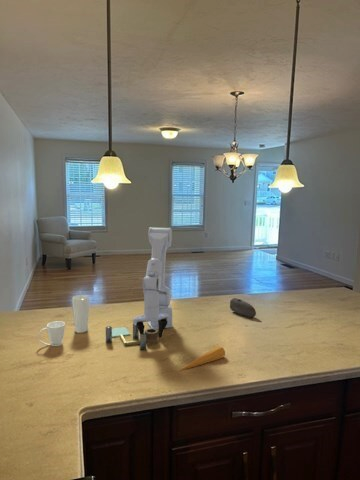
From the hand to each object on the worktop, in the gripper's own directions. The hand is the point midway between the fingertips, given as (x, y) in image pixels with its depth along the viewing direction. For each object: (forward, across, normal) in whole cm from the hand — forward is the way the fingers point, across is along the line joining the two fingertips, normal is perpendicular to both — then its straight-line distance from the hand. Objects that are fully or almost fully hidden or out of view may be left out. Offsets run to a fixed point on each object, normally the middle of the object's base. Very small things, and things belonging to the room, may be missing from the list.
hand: (151, 338), depth 144 cm
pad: (+1, -10, +13) cm, 17 cm away
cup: (+2, -37, +10) cm, 38 cm away
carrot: (+2, +12, -22) cm, 25 cm away
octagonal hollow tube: (+1, 0, 0) cm, 1 cm away
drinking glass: (+2, -25, +20) cm, 32 cm away
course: (+1, -10, 0) cm, 11 cm away
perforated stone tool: (+2, +52, +15) cm, 54 cm away
